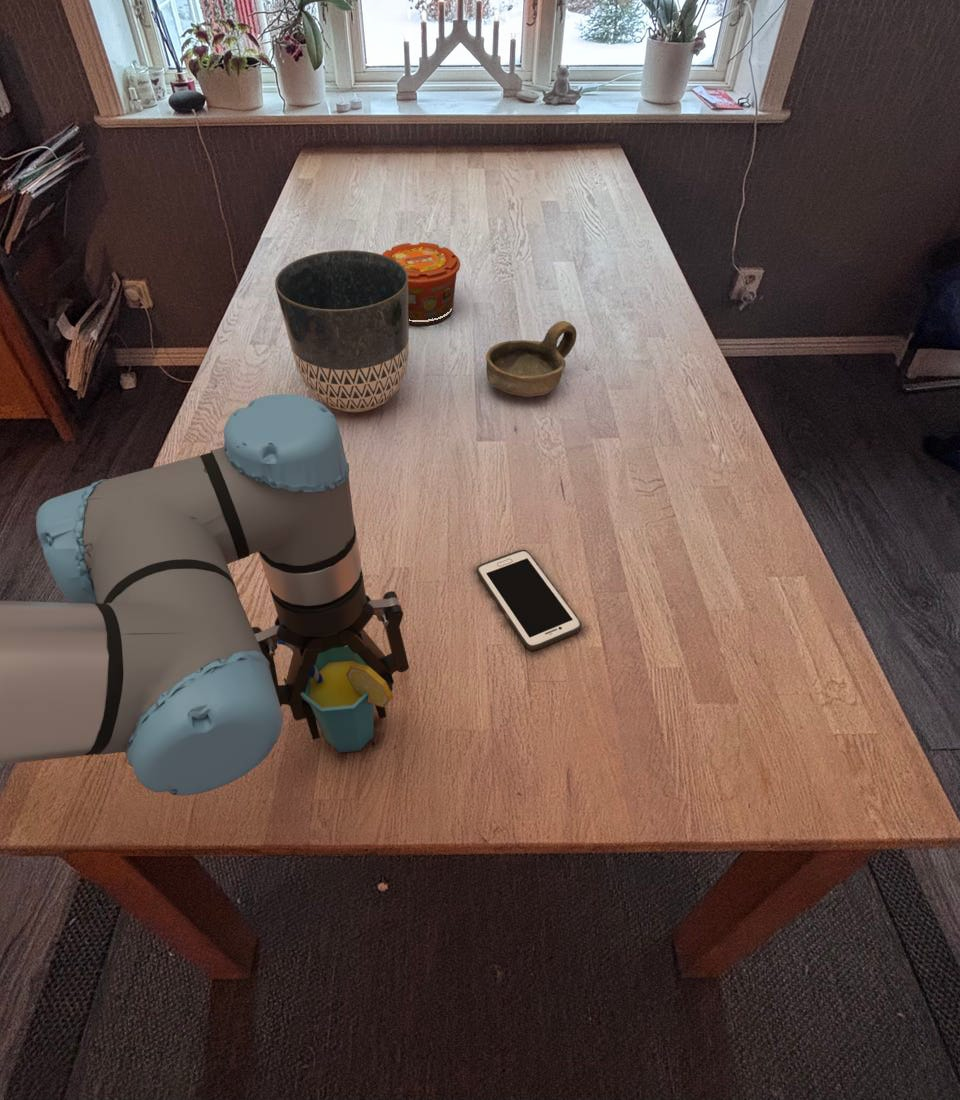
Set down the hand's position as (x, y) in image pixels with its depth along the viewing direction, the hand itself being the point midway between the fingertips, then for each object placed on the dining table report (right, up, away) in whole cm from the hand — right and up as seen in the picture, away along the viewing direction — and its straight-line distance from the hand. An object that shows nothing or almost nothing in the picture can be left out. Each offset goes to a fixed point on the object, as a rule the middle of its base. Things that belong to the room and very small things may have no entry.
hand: (347, 717), depth 72 cm
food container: (+2, +66, +66) cm, 93 cm away
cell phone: (+20, +11, +15) cm, 27 cm away
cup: (-1, -2, +1) cm, 2 cm away
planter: (-7, +43, +44) cm, 62 cm away
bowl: (+23, +47, +48) cm, 71 cm away
